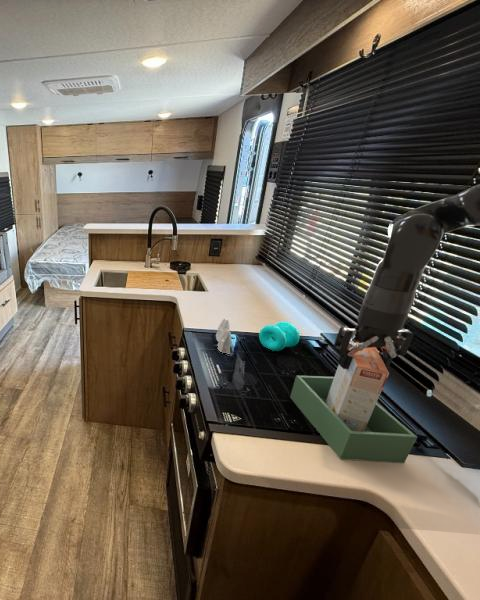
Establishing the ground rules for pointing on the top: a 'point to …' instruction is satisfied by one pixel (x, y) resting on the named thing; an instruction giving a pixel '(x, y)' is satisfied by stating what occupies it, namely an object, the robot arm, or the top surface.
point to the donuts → (279, 336)
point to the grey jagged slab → (224, 337)
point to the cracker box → (358, 388)
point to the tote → (345, 443)
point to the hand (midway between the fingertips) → (362, 368)
